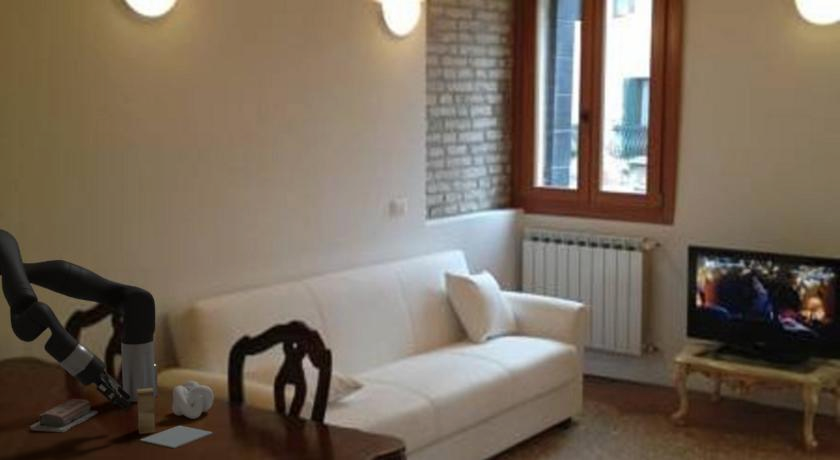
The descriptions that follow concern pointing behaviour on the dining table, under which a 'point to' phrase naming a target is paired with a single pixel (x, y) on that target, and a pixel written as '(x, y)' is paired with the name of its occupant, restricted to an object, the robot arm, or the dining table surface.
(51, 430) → the packaged product
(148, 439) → the felt mat
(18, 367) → the dining table surface
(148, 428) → the oak block
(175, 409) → the white decorative knot
